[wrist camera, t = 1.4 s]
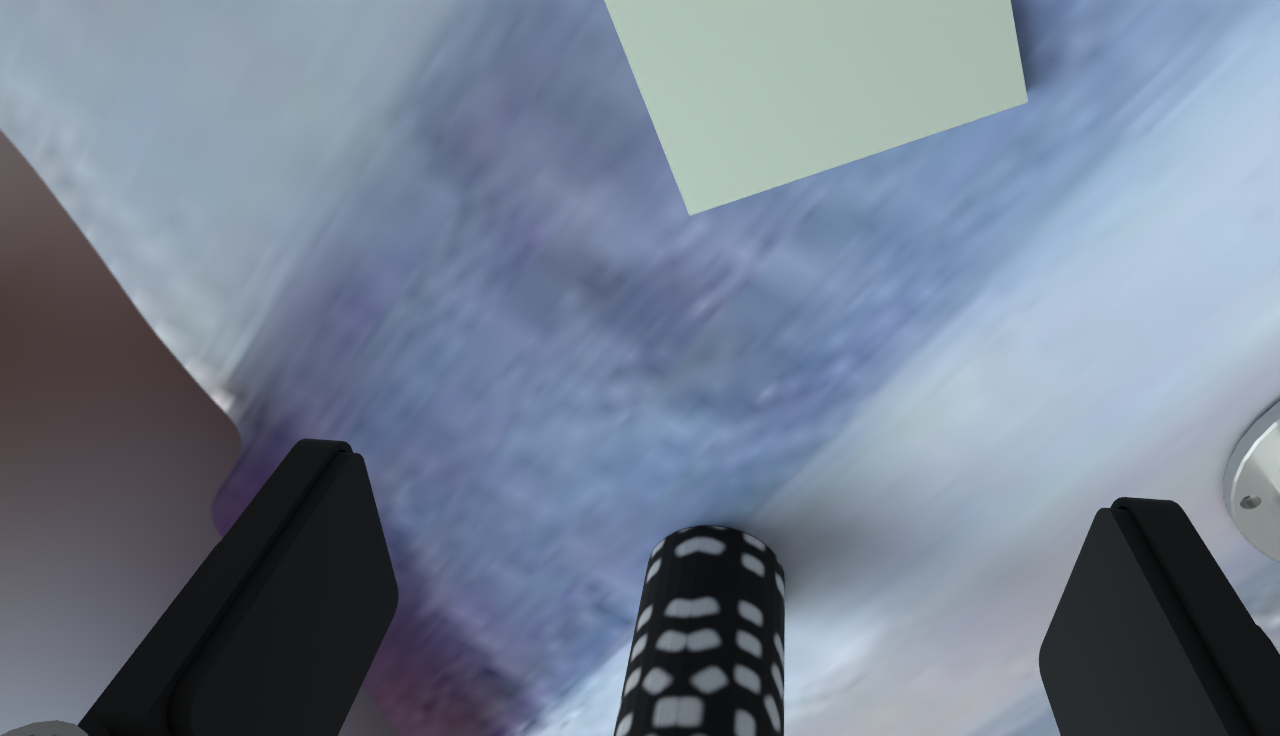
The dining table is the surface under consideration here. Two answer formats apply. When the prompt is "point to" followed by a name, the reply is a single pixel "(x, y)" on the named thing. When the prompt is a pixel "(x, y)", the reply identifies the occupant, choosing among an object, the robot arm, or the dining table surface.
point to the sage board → (809, 81)
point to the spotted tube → (707, 640)
